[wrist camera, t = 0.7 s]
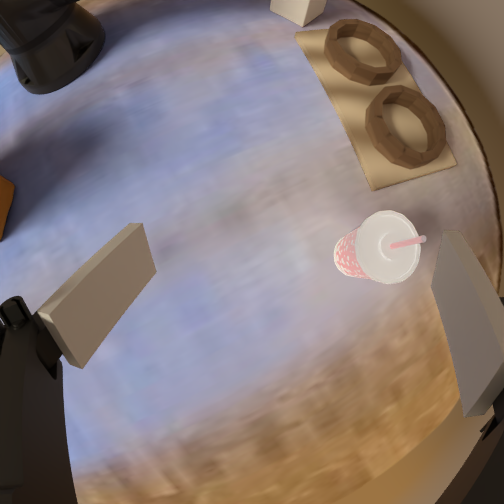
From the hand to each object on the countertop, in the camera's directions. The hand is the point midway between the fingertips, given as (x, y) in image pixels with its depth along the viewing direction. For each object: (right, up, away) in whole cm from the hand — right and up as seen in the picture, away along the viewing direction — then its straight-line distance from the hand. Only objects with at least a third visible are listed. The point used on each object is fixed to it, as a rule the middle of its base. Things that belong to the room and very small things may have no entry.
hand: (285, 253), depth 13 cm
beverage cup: (+10, 0, +20) cm, 22 cm away
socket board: (+15, +21, +22) cm, 34 cm away
